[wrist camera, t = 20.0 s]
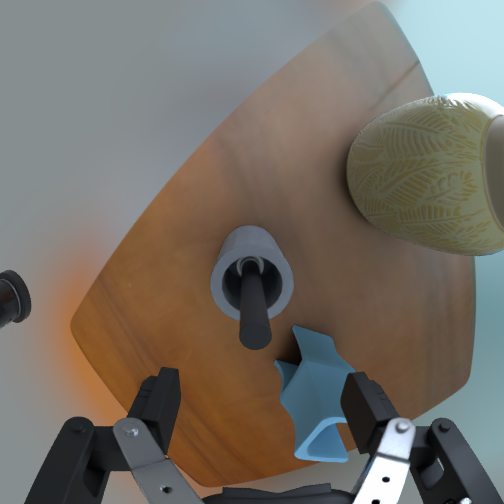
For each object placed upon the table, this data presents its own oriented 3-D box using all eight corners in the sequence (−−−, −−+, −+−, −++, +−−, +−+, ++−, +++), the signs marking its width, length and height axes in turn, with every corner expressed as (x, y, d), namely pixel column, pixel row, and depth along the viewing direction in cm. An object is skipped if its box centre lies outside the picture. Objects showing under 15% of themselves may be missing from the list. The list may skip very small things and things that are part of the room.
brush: (237, 265, 39) (229, 356, 17) (238, 242, 38) (230, 312, 16) (260, 266, 39) (278, 358, 17) (261, 243, 39) (284, 314, 17)
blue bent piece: (314, 374, 45) (345, 462, 25) (273, 363, 44) (289, 458, 24) (336, 338, 43) (384, 421, 24) (294, 324, 42) (325, 414, 23)
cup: (221, 277, 40) (209, 320, 27) (223, 223, 39) (211, 242, 25) (274, 280, 41) (289, 324, 27) (279, 226, 39) (297, 246, 25)
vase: (311, 177, 38) (431, 163, 11) (377, 99, 35) (501, 33, 9) (389, 254, 40) (519, 326, 14) (444, 176, 38) (575, 185, 12)
